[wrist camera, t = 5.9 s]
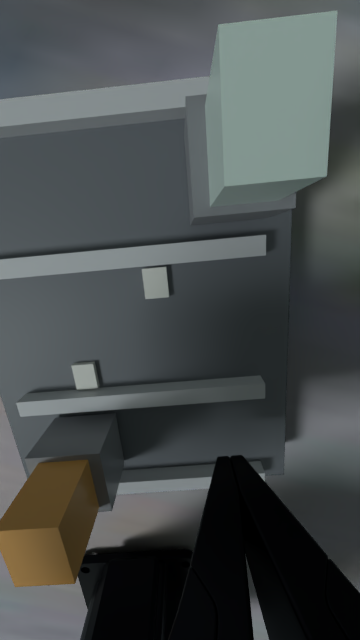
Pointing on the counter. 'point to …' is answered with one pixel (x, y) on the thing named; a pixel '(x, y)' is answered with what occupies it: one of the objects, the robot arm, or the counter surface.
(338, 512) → the counter surface
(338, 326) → the counter surface
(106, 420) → the fader
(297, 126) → the fader
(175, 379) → the console
